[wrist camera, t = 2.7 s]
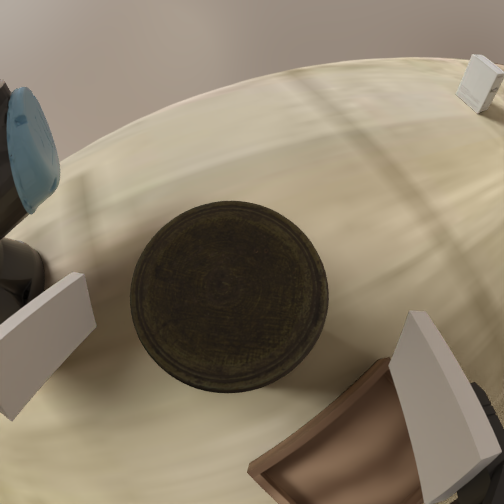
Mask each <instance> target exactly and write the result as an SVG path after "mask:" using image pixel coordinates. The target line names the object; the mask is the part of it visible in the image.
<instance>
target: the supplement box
mask: <svg viewBox="0 0 504 504" xmlns="http://www.w3.org/2000/svg"><path fill="white" fill-rule="evenodd" d="M503 79H504V71H503V70H501V69H500V68H499V67H498V66H497V65H495V64H494V63H493V62H491V61H490V60H489V59H487V58H486V57H485V56H483V55H475V54H472V56H471V58H470V61H469V63H468V66H467V68H466V71H465V73H464V76H463V78H462V80H461V83H460V85H459V87H458V89H457V92H456V95H457V96H458V97H459V98H460V99H462V100H463V101H464V102H465V103H466V104H467V105H468V106H469V107H470V108H472V109H473V110H474V111H475V112H476V113H477V114H478V113H480V112H482V111H485V110H488V108H489V106H490V104H491V102H492V101H493V99H494V97H495V95H496V93H497V91H498V89H499V87H500V85H501V83H502V81H503Z"/></svg>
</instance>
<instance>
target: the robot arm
mask: <svg viewBox="0 0 504 504" xmlns="http://www.w3.org/2000/svg"><path fill="white" fill-rule="evenodd" d="M59 181H60V164H59V159H58V154H57V150H56V147H55V143H54V140H53V137H52V134H51V131H50V128H49V125H48V123H47V120H46V118H45V116H44V113H43V111H42V109H41V106H40V104H39V102H38V100H37V99H36V97H35V96H33V94H32V91H31V90H30V89H29V88H27V87H22V88H19V89H15V90H14V91H13V92H10V90H9V88H8V87H7V85H6V83H5V81H4V80H3V79H0V412H1V413H2V414H3V415H4V416H6V417H7V418H8V419H10V420H11V421H13V420H14V419H15V417H16V416H17V415H18V414H19V413H20V411H21V410H22V409H23V408H24V407H25V405H26V404H27V403H28V402H29V401H30V399H31V398H32V397H33V396H34V395H35V394H36V392H37V391H38V390H39V389H40V388H41V387H42V385H43V384H44V383H45V382H46V381H47V380H48V379H49V378H50V376H51V375H52V374H53V373H54V372H55V371H56V370H57V369H58V367H59V366H60V365H61V364H62V363H63V362H64V361H65V360H66V359H67V358H68V357H69V355H70V354H71V353H72V352H73V351H74V350H75V349H76V348H77V347H78V346H79V345H80V344H81V343H82V342H83V341H84V339H85V338H86V337H87V336H88V335H89V334H90V333H91V332H92V331H93V330H94V329H95V328H96V327H97V326H96V322H95V318H94V314H93V310H92V306H91V302H90V297H89V293H88V288H87V283H86V278H85V274H82V273H77V272H71V273H70V274H68V275H67V276H65V277H64V278H63V279H61V280H60V281H58V282H57V283H55V284H54V285H53V286H51V287H50V288H48V289H47V290H46V291H44V292H43V290H44V268H43V263H42V260H41V258H40V256H39V254H38V253H37V252H36V251H35V250H34V249H33V248H32V247H30V246H29V245H27V244H26V243H24V242H22V241H16V240H12V239H8V238H4V237H5V236H6V235H7V234H8V233H9V232H10V231H11V230H12V229H13V228H14V227H15V226H16V225H18V224H19V223H20V222H21V221H22V220H23V219H24V218H26V217H27V216H28V215H29V214H33V213H34V212H35V211H36V209H37V207H38V206H39V205H40V204H42V203H43V202H44V201H45V200H46V199H47V198H48V197H50V196H51V195H52V194H53V193H54V192H55V190H56V189H57V187H58V184H59ZM388 366H389V369H390V372H391V375H392V378H393V381H394V384H395V387H396V391H397V394H398V397H399V400H400V404H401V407H402V410H403V414H404V417H405V421H406V425H407V428H408V432H409V436H410V440H411V444H412V448H413V452H414V456H415V460H416V465H417V469H418V474H419V478H420V483H421V489H422V494H423V499H424V504H434V503H438V502H441V501H444V500H446V499H448V498H449V497H450V496H452V495H453V494H454V493H456V492H457V495H458V498H457V499H456V500H455V501H453V502H452V503H450V504H504V429H503V427H502V424H501V422H500V420H499V418H498V416H497V415H495V413H496V412H495V410H494V408H493V406H491V402H490V401H489V399H488V397H487V395H486V393H485V392H484V391H483V390H482V389H481V388H480V387H479V386H478V385H477V384H476V383H475V382H474V383H469V381H468V379H467V377H466V375H465V374H464V372H463V370H462V368H461V367H460V365H459V363H458V361H457V360H456V358H455V356H454V355H453V353H452V351H451V350H450V348H449V346H448V345H447V343H446V341H445V340H444V338H443V337H442V335H441V334H440V332H439V330H438V329H437V327H436V326H435V324H434V323H433V321H432V320H431V318H430V317H429V315H428V314H427V312H426V311H411V310H409V312H408V315H407V318H406V321H405V324H404V327H403V330H402V333H401V335H400V338H399V341H398V343H397V346H396V348H395V351H394V353H393V356H392V358H391V361H390V363H389V365H388Z"/></svg>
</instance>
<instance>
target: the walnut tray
mask: <svg viewBox="0 0 504 504" xmlns="http://www.w3.org/2000/svg"><path fill="white" fill-rule="evenodd" d="M390 361H391V359H390V358H389V357H388V358H383V359H379V360H377V361H376V362H375V363H374V364H373V365H372V366H371V367H370V368H369V369H368V370H367V371H366V372H365V373H364V374H363V375H362V376H361V377H360V378H359V379H358V380H357V381H356V382H355V383H354V384H352V385H351V386H350V387H349V388H348V389H347V390H346V391H345V392H344V393H343V394H341V395H340V396H339V397H338V398H337V399H336V400H335V401H333V402H332V403H331V404H330V405H329V406H328V407H326V408H325V409H324V410H323V411H322V412H320V413H319V414H318V415H317V416H315V417H314V418H313V419H312V420H310V421H309V422H308V423H306V424H305V425H304V426H303V427H301V428H300V429H299V430H297V431H296V432H295V433H293V434H292V435H291V436H289V437H288V438H286V439H285V440H284V441H282V442H281V443H279V444H278V445H276V446H275V447H274V448H272V449H271V450H269V451H268V452H266V453H265V454H263V455H262V456H260V457H259V458H257V459H255V460H254V461H252V462H251V463H249V467H248V471H247V473H248V474H249V475H250V476H251V477H252V478H253V479H254V480H255V481H256V482H257V483H258V484H259V485H260V486H261V487H262V488H263V489H264V490H265V491H266V492H267V493H268V494H269V495H270V496H271V497H272V498H273V499H274V500H275V501H276V502H277V503H278V504H422V503H423V502H424V499H423V494H422V489H421V483H420V478H419V474H418V469H417V465H416V460H415V456H414V452H413V448H412V444H411V440H410V436H409V432H408V428H407V425H406V421H405V417H404V414H403V410H402V407H401V404H400V400H399V397H398V394H397V391H396V387H395V384H394V381H393V378H392V375H391V372H390V369H389V366H388V365H389V363H390Z"/></svg>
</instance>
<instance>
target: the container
mask: <svg viewBox="0 0 504 504" xmlns="http://www.w3.org/2000/svg"><path fill="white" fill-rule="evenodd" d="M328 301H329V292H328V283H327V277H326V273H325V270H324V266H323V264H322V261H321V259H320V257H319V255H318V253H317V251H316V249H315V248H314V246H313V244H312V243H311V241H310V240H309V239H308V237H307V236H306V235H305V234H304V233H303V232H302V231H301V230H300V229H299V228H298V227H297V226H296V225H295V224H294V223H292V222H291V221H290V220H288V219H287V218H285V217H284V216H282V215H281V214H279V213H277V212H275V211H273V210H271V209H269V208H266V207H264V206H261V205H257V204H253V203H249V202H242V201H220V202H214V203H209V204H205V205H201V206H198V207H195V208H193V209H190V210H188V211H186V212H184V213H182V214H180V215H179V216H177V217H175V218H174V219H173V220H171V221H170V222H168V223H167V224H166V225H165V226H164V227H163V228H161V229H160V230H159V231H158V232H157V233H156V235H155V236H154V237H153V238H152V239H151V241H150V242H149V243H148V245H147V246H146V248H145V249H144V251H143V253H142V254H141V256H140V258H139V260H138V263H137V265H136V268H135V271H134V274H133V278H132V283H131V292H130V306H131V314H132V319H133V323H134V326H135V329H136V332H137V334H138V337H139V339H140V341H141V343H142V345H143V346H144V348H145V349H146V351H147V352H148V354H149V355H150V356H151V357H152V359H153V360H154V361H155V362H156V363H157V364H158V365H159V366H160V367H161V368H162V369H163V370H164V371H166V372H167V373H168V374H169V375H171V376H172V377H174V378H175V379H177V380H179V381H181V382H182V383H184V384H187V385H189V386H191V387H194V388H197V389H201V390H204V391H209V392H216V393H239V392H246V391H251V390H255V389H258V388H261V387H264V386H267V385H269V384H271V383H273V382H275V381H277V380H278V379H280V378H282V377H283V376H285V375H286V374H288V373H289V372H290V371H292V370H293V369H294V368H295V367H296V366H297V365H298V364H300V363H301V362H302V361H303V359H304V358H305V357H306V356H307V355H308V353H309V352H310V351H311V349H312V348H313V347H314V345H315V343H316V342H317V340H318V338H319V336H320V334H321V331H322V329H323V326H324V323H325V319H326V315H327V310H328Z"/></svg>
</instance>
